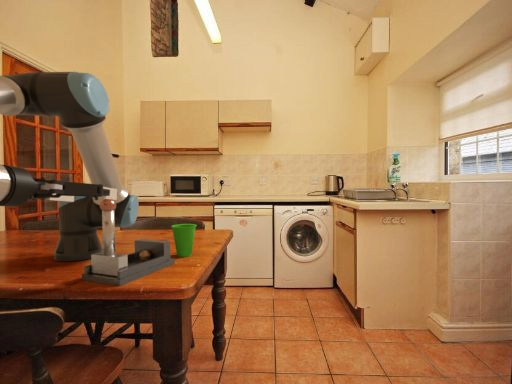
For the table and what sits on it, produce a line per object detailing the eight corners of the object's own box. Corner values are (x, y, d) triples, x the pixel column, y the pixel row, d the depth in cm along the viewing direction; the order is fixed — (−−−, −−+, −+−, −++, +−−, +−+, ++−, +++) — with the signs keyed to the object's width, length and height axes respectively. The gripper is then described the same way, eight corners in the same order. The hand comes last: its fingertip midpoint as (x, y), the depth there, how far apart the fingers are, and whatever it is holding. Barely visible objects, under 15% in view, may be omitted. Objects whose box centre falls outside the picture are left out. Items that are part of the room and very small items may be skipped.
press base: (120, 285, 72) (119, 256, 71) (81, 279, 77) (81, 252, 77) (174, 263, 92) (174, 240, 92) (141, 259, 97) (141, 238, 97)
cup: (200, 252, 107) (199, 223, 106) (192, 258, 98) (191, 227, 97) (177, 252, 107) (176, 223, 107) (167, 258, 98) (166, 227, 98)
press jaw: (117, 276, 73) (115, 198, 73) (90, 272, 77) (88, 198, 76) (129, 272, 77) (127, 197, 77) (102, 268, 81) (101, 197, 80)
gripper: (-54, 207, 53) (54, 211, 73) (49, 203, 47) (135, 208, 67) (-50, 168, 53) (56, 183, 74) (52, 159, 47) (136, 178, 68)
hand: (93, 195), depth 71 cm, fingers open, 12 cm apart
